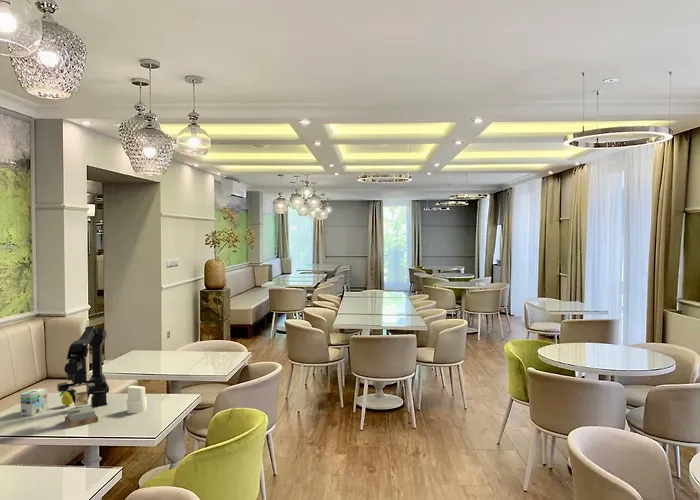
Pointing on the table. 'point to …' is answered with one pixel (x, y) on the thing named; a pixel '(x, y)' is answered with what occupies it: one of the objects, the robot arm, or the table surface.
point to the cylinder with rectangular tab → (136, 399)
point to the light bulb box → (34, 401)
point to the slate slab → (81, 413)
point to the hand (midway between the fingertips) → (80, 401)
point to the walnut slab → (80, 421)
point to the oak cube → (81, 399)
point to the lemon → (67, 398)
